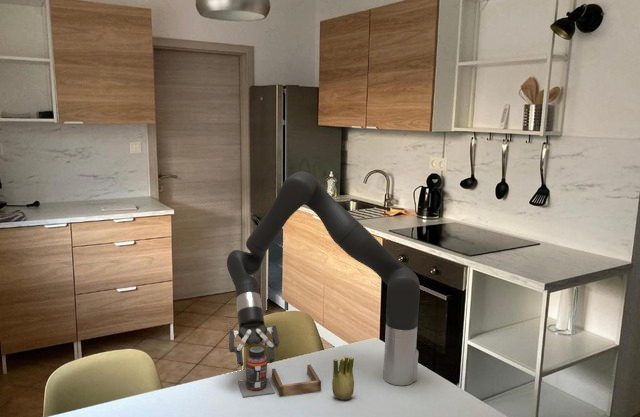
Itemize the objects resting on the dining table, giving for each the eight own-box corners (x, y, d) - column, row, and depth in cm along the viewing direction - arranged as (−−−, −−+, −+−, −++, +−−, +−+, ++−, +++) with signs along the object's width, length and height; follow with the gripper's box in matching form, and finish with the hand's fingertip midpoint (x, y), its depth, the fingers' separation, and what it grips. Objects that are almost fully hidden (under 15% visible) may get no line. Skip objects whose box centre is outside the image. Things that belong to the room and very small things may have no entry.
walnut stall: (310, 373, 162) (310, 364, 162) (320, 391, 152) (321, 381, 152) (271, 378, 159) (271, 368, 158) (279, 396, 148) (280, 386, 148)
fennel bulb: (330, 400, 148) (332, 359, 146) (334, 391, 152) (335, 352, 150) (351, 403, 146) (353, 362, 144) (354, 394, 151) (356, 354, 149)
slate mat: (268, 378, 158) (268, 377, 158) (274, 393, 150) (274, 392, 150) (238, 382, 156) (238, 381, 156) (242, 397, 147) (242, 396, 147)
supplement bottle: (263, 392, 150) (263, 354, 148) (242, 390, 151) (243, 352, 149) (269, 382, 155) (269, 346, 153) (249, 380, 157) (250, 343, 155)
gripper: (227, 307, 154) (232, 361, 146) (275, 303, 159) (283, 356, 150) (224, 318, 160) (230, 371, 152) (271, 314, 165) (279, 365, 156)
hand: (256, 363), depth 151 cm, fingers open, 8 cm apart
